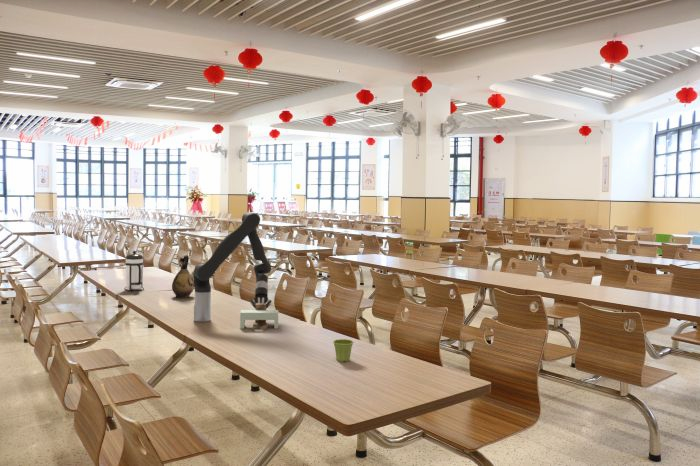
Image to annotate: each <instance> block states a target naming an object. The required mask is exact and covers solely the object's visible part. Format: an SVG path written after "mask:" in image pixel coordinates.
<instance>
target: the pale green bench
mask: <svg viewBox="0 0 700 466" xmlns="http://www.w3.org/2000/svg"><path fill="white" fill-rule="evenodd" d="M239 315H240V317H239V318H240V319H239V321H240V322H239V329H240V330H242V329H245V326H246V325H245V324H246V322H245V321H248V320H249V321H255V320H266V321H274V322H273V323H274V326H273V327H274V329H276V330H277V329H279V309H266V310H255V309H241V310H240V313H239Z"/></svg>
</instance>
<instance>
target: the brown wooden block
mask: <svg viewBox="0 0 700 466" xmlns="http://www.w3.org/2000/svg"><path fill="white" fill-rule="evenodd" d="M255 304H256V306H255V308H254V310H267V309H266V304H267V302H266V303H256V302H255ZM257 328H261V329H263V331H267V330H268V322H267V320H254V322H252V331H254V329H257Z"/></svg>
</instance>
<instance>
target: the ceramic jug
mask: <svg viewBox="0 0 700 466" xmlns="http://www.w3.org/2000/svg"><path fill="white" fill-rule="evenodd" d="M189 259H190V256H189V255H187V254H186V255H184V256H183V257H181V258H180V259H179V263H180V264H181V268H180V269H179V271H178V272H177V273H176V275H175V277H174V278H173V281H172V284H171V289H172V292H173V294H174V295H175V298H178V299H187V297H188V298H189V297H190V295H191V294H192V293H193V292H194V291H195V288H194V277H193V276H192V275H191V273H190V271H189V269H188V265H189Z"/></svg>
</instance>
